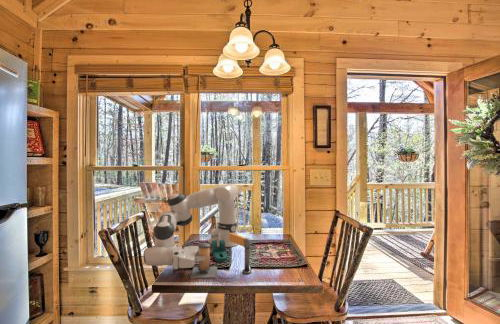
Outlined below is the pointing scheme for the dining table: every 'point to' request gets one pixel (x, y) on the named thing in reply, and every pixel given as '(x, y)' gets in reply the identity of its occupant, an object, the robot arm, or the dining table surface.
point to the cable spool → (204, 251)
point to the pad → (203, 273)
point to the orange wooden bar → (239, 240)
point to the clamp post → (247, 262)
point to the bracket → (219, 251)
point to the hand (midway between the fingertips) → (206, 255)
